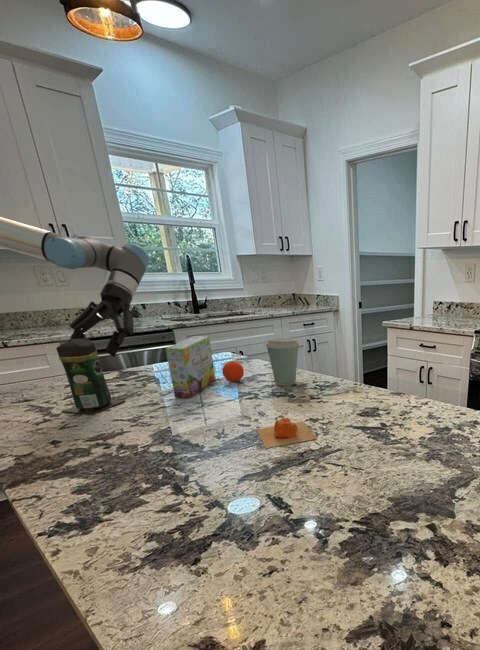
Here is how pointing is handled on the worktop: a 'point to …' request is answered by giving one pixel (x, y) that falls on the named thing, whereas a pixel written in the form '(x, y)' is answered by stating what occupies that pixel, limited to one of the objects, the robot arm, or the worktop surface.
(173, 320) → the worktop surface
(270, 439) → the orange chunks on board
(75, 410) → the walnut coaster
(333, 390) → the worktop surface
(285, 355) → the disposable coffee cup
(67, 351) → the coffee jar
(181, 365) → the snack box
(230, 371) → the clementine
